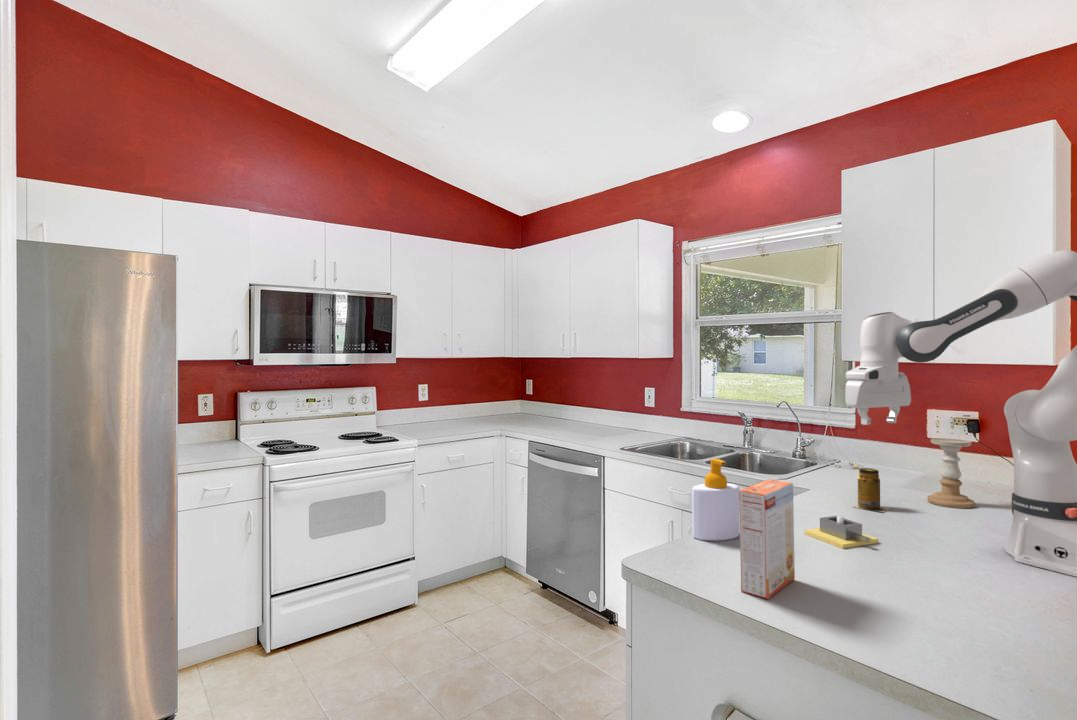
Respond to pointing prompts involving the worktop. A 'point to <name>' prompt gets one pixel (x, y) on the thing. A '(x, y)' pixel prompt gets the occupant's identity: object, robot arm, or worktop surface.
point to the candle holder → (950, 476)
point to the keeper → (837, 541)
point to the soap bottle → (715, 507)
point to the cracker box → (766, 537)
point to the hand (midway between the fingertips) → (878, 423)
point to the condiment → (869, 490)
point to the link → (842, 529)
